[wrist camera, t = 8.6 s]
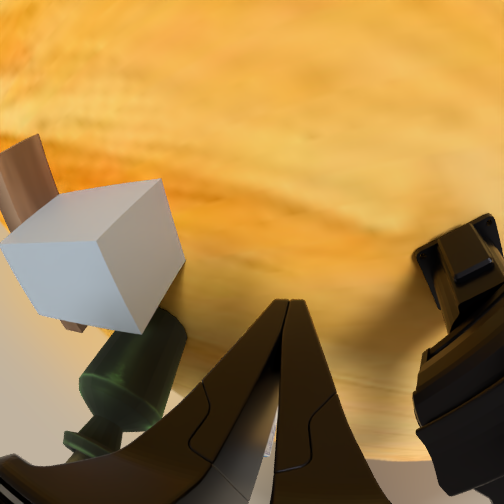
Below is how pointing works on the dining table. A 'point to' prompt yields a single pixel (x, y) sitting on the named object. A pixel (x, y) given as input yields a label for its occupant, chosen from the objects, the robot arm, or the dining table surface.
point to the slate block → (98, 255)
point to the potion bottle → (127, 385)
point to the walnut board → (27, 188)
